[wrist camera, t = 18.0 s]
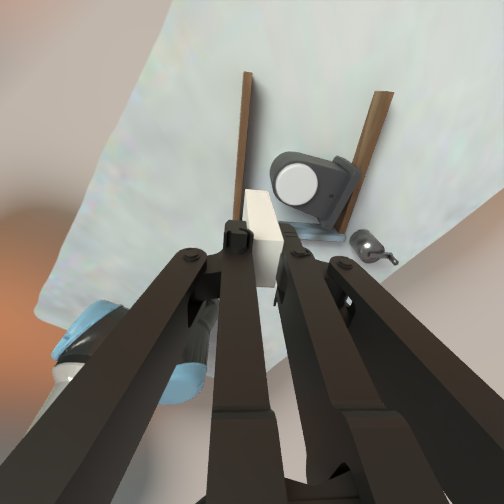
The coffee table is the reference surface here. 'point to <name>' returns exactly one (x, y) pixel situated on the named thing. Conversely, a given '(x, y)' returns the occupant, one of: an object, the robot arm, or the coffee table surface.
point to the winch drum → (369, 247)
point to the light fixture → (314, 184)
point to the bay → (360, 160)
